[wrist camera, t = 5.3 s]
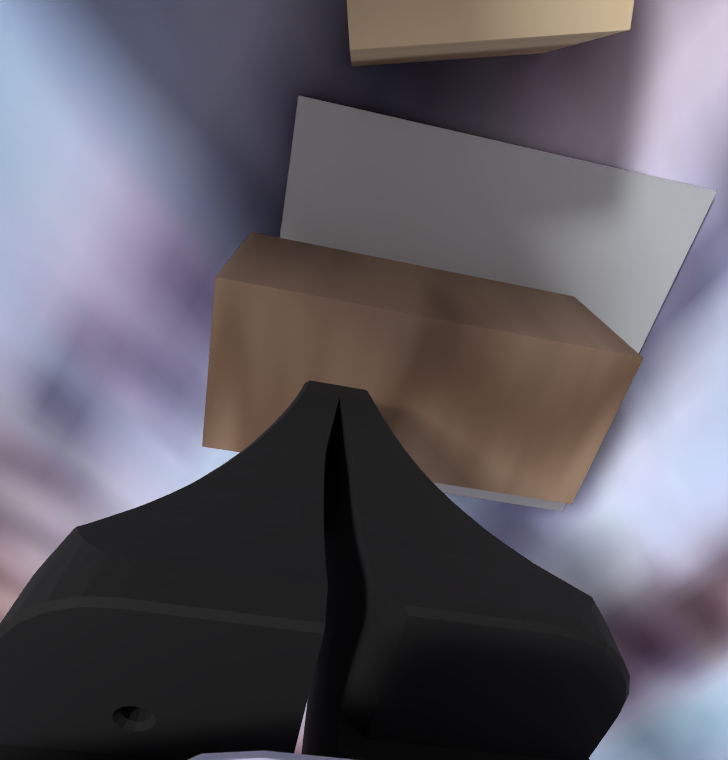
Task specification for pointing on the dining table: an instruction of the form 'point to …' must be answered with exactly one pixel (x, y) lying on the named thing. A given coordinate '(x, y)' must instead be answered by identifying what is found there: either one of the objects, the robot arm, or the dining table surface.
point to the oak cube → (476, 27)
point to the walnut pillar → (418, 362)
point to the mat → (490, 216)
